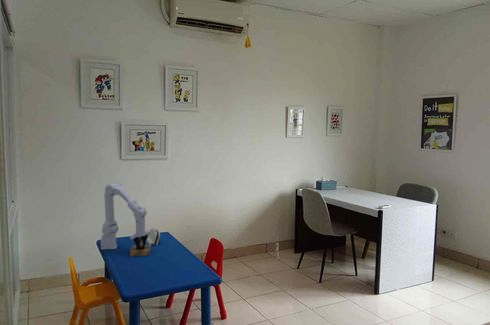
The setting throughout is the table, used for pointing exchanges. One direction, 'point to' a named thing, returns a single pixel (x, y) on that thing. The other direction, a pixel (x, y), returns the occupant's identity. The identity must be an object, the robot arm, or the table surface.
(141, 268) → the table surface
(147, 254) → the block
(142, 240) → the pin
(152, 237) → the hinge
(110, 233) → the robot arm
